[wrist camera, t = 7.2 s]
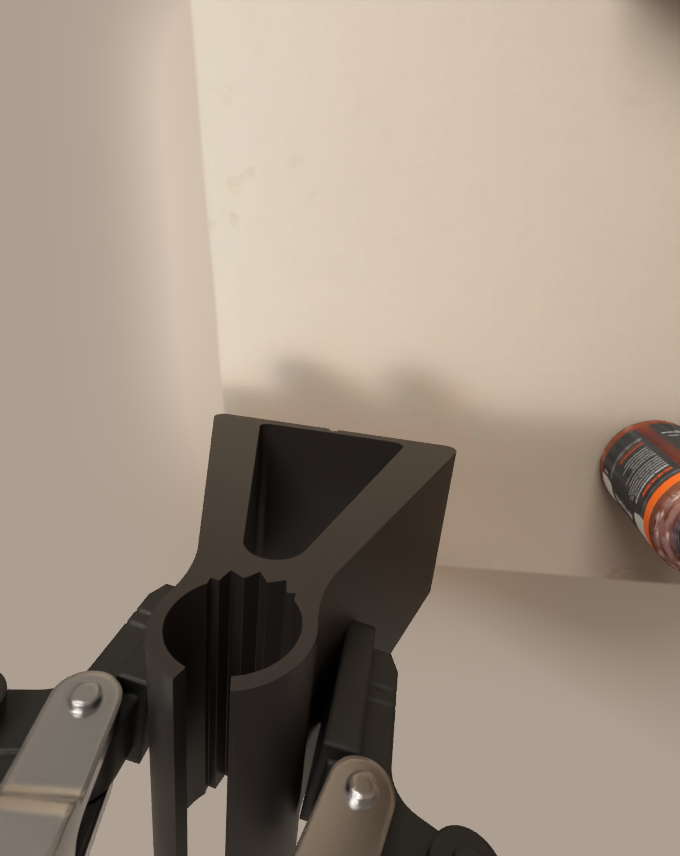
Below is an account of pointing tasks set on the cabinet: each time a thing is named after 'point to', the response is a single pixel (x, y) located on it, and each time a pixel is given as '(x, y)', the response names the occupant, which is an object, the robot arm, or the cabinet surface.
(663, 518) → the supplement bottle
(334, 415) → the cabinet surface
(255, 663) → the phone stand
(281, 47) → the cabinet surface
